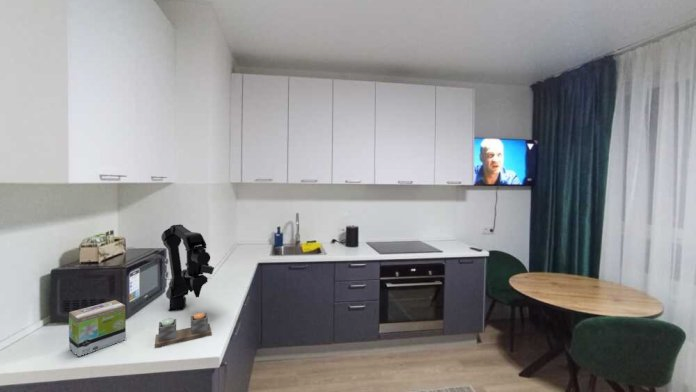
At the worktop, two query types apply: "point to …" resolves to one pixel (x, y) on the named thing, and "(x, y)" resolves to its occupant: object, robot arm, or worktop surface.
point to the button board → (182, 332)
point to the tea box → (96, 327)
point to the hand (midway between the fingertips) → (194, 294)
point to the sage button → (167, 322)
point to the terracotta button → (199, 315)
